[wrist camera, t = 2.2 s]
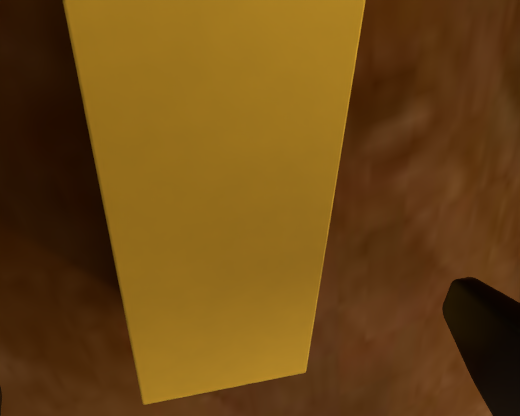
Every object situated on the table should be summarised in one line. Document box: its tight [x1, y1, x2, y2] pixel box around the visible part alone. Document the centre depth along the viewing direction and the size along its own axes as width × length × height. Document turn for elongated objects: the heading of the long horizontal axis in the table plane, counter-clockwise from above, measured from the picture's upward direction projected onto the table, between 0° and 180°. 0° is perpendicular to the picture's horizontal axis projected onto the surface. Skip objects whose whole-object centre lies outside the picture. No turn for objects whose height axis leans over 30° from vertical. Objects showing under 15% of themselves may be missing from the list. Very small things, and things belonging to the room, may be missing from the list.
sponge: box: [63, 0, 365, 404], centre depth 12 cm, size 5×11×4 cm, turn 178°
